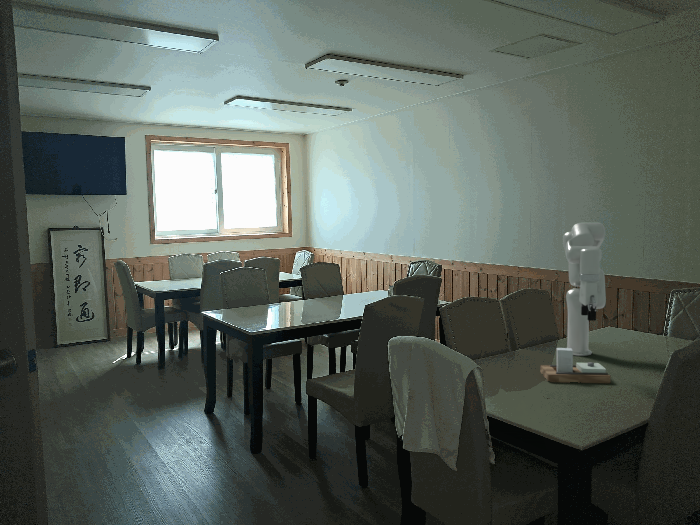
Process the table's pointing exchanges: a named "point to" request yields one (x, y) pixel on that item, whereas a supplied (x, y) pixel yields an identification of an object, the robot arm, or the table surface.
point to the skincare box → (564, 360)
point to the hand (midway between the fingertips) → (588, 317)
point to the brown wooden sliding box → (572, 375)
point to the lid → (590, 367)
